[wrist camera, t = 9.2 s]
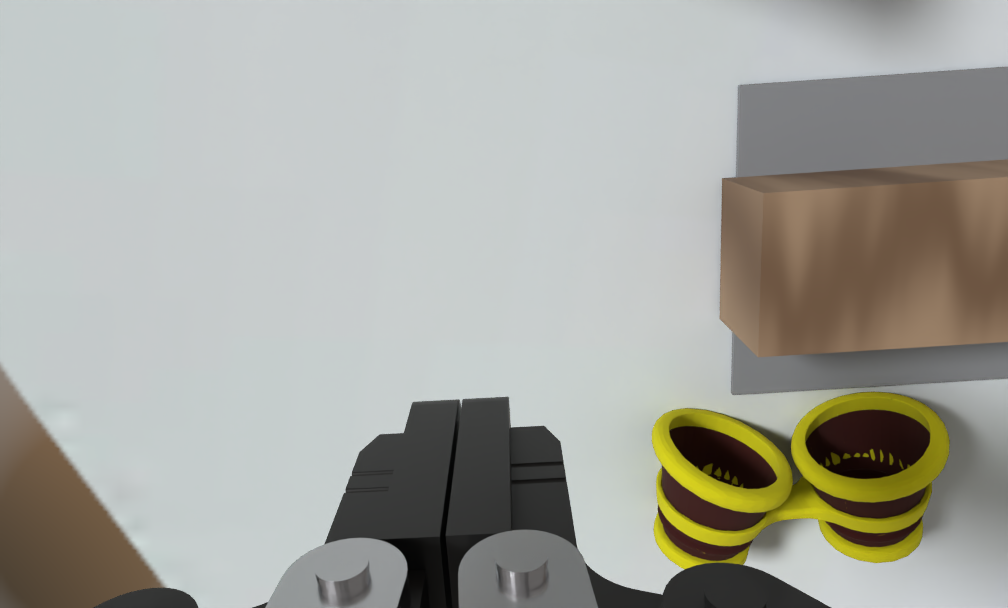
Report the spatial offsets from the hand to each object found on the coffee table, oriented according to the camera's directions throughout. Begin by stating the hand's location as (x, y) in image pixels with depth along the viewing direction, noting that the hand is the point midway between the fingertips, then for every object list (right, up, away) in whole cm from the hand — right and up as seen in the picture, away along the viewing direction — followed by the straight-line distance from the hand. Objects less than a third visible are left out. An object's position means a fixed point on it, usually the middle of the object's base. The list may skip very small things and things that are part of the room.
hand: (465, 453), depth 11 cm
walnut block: (+8, +4, +12) cm, 15 cm away
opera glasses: (+11, -4, +17) cm, 20 cm away
